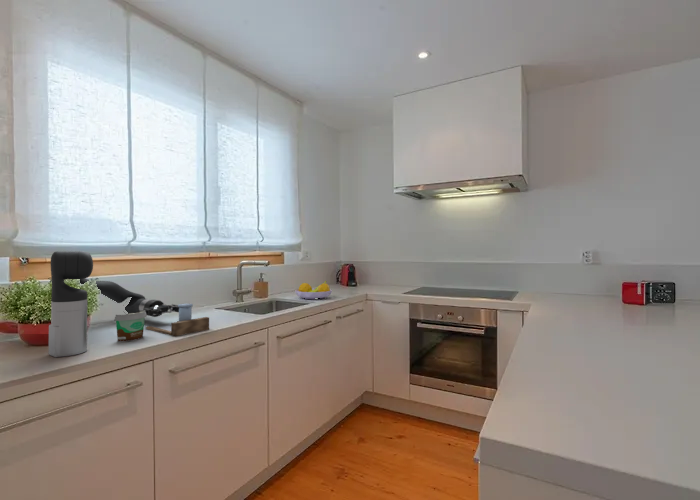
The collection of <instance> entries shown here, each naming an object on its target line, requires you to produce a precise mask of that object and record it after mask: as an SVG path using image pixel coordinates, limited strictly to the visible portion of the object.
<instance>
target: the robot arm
mask: <svg viewBox="0 0 700 500" xmlns="http://www.w3.org/2000/svg"><path fill="white" fill-rule="evenodd" d="M93 270H94V260H93V257H92V255H91V254H90V253H89V252H87V251H82V250H81V251H80V250H79V251H78V250H75V251H73V250H71V251H69V250H63V251H62V250H60V251H59V250H58V251H54V252H53V253H52V255H51V257H50V276H51V278H50V279H51V300H50V301H51V303H50V304H51V306H50V307H51V310H50V311H51V313H50V314H51V318H50V321H51V324H49V325H48V355H50V356H51V357H54V358H60V357H68V356H69V357H70V356H75V355H79V354H83V353H85V352H87V351H88V291H86V290H85V289H81V288H76V287H74V286H70V285H69V284H67V283H66V282H65V280H70V279H80V283H81V284H84V283H85V282H87V281H89V280H90V279H88V278H89V277H90V276H91V275H92V272H93ZM95 281H96V284H97V287H98V289H100V290H101V295H102V294H103V295H102V296H104V295H105V296H104V297H106V296H107V297H108V298H107V297H106V298H107V299H109V298H110V300H111V299H112V300H111V301H113V300H114V301H116V302H117V303H116V302H115V303H116V304H121V303H124V302H126V301H127V300H128V299H129V298H130V297H132V298H131V300H130V302H129V304H128V305H127V306H126V307H125V310H126V311H127V312H128V313H137V312H140V310H145V312H146V315H147V316H148V317H154V318H158V317H160V316H162V315H163V314H171V313H173V312H174V313H179V307H178V305H179V304H173V303H172V304H165V303H164V302H163V301H161V300H159V299H151V298H146V297H145V296H144V295H143V294H140V293H136V292H133V291H131V290H129V289H126V288H124V287H123V286H121V285H119V284H118V283H116V282H114V281H110V280H95ZM114 301H113V302H114Z"/></svg>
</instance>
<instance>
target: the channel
mask: <svg viewBox="0 0 700 500" xmlns="http://www.w3.org/2000/svg"><path fill="white" fill-rule="evenodd" d="M170 328H171V329H170V330H167V329H165V328H160V327H154V326H151V325H149V326H145V330H148V331H153V332H156V333H161V334H164V335H166V336H167V335H168V336H172V337H179V336H183V335H188V334H193V333H197V332H202V331H208V330H210V317H209V316H205V317H197V318H191V320H185V321H179V320H176V321H174V322H171V325H170Z"/></svg>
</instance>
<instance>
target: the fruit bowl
mask: <svg viewBox="0 0 700 500" xmlns="http://www.w3.org/2000/svg"><path fill="white" fill-rule="evenodd" d="M294 292H295V294H296V296H298V297H300V298H302V299H304V298H305V299H304V300H314V299H315V298H322V299H325V298H327V297H328V296H330V295H331V294H332V293H333V290H332V289H331V288H330V285H329V284H328V283H327V280H325V281H324V282H323V283H321V284H319V285H318V286H316V287H312V286H311V284H309V283H308V282H302V283H301V284H300V285H299V287H298V288H297V289H295V290H294ZM324 297H325V298H324Z"/></svg>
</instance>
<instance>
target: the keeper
mask: <svg viewBox="0 0 700 500" xmlns="http://www.w3.org/2000/svg"><path fill="white" fill-rule="evenodd" d="M177 305H178V307H179V312H178V321H185V320H191V319H193V318H192V317H193V316H192V313H193V312H192V311H193V310H192V307H193V303H179V304H177Z"/></svg>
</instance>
